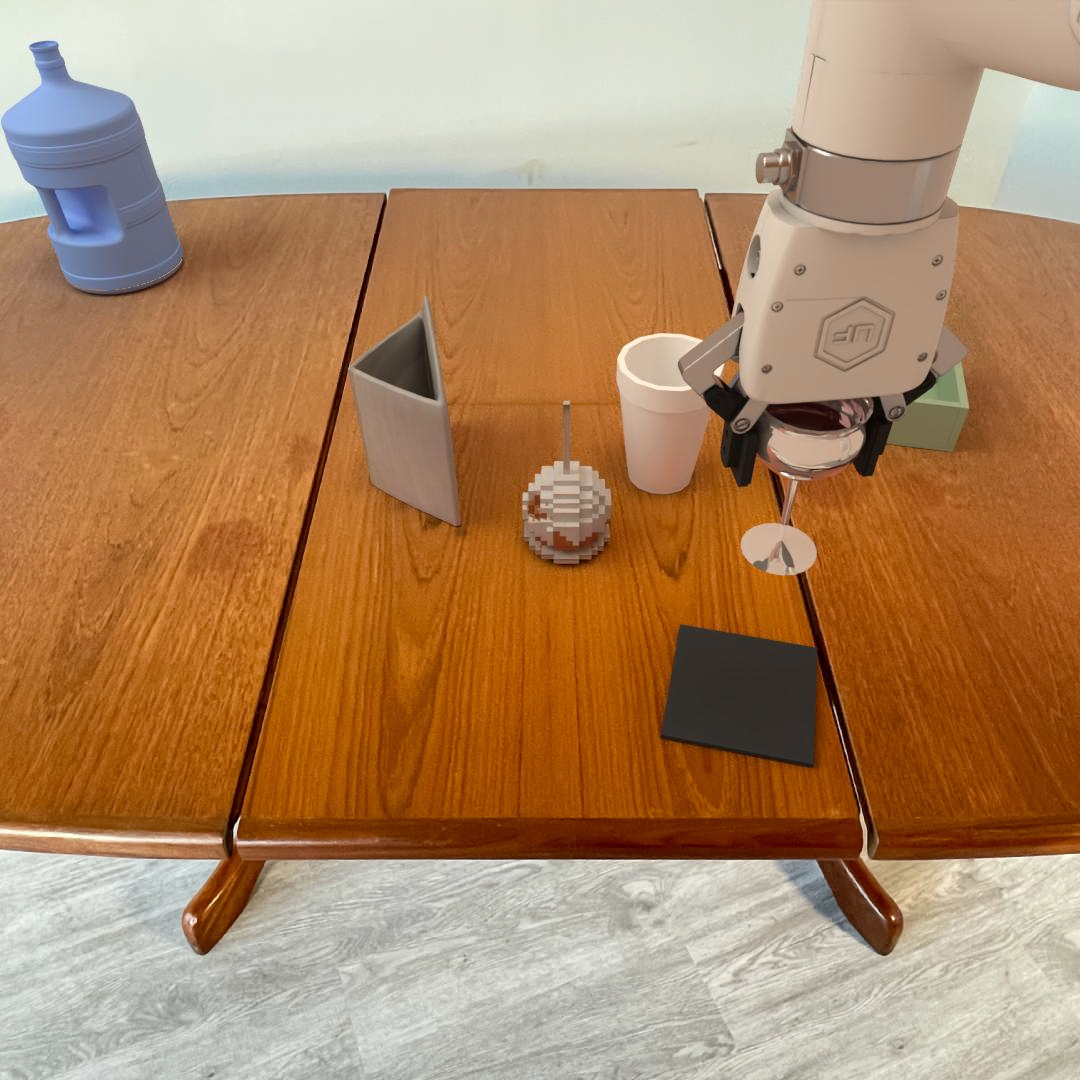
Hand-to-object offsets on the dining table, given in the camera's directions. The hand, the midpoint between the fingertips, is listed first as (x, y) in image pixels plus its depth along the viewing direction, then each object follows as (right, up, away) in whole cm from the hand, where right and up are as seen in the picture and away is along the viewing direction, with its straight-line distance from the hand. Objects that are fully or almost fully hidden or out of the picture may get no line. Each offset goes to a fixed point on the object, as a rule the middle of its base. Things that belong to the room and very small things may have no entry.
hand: (797, 465), depth 53 cm
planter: (-29, +2, +34) cm, 45 cm away
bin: (+21, +10, +41) cm, 47 cm away
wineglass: (0, -5, +5) cm, 7 cm away
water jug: (-73, +33, +68) cm, 105 cm away
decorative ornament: (-13, -4, +28) cm, 31 cm away
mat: (0, -16, +14) cm, 22 cm away
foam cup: (-4, +2, +34) cm, 34 cm away
